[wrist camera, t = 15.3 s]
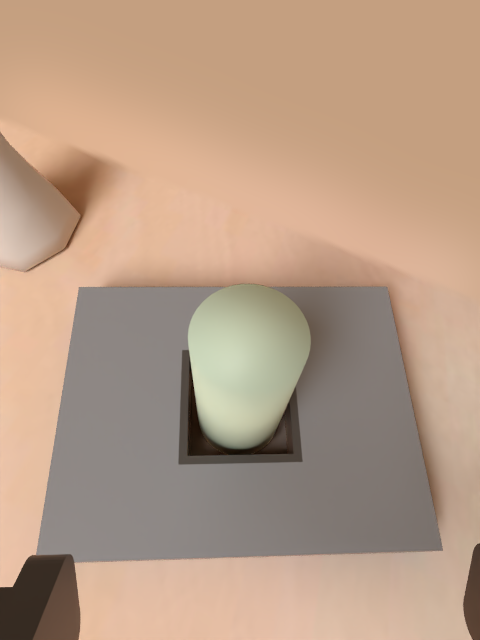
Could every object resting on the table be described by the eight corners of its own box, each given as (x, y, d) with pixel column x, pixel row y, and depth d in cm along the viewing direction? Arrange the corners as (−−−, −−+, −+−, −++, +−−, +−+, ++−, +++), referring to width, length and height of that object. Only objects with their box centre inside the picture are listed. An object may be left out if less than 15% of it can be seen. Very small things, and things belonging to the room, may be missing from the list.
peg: (275, 377, 26) (304, 283, 17) (280, 455, 24) (316, 393, 15) (198, 378, 26) (189, 283, 17) (197, 457, 24) (186, 395, 15)
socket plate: (376, 303, 29) (387, 286, 27) (425, 551, 22) (443, 550, 21) (87, 304, 28) (79, 287, 26) (49, 563, 21) (34, 563, 20)
